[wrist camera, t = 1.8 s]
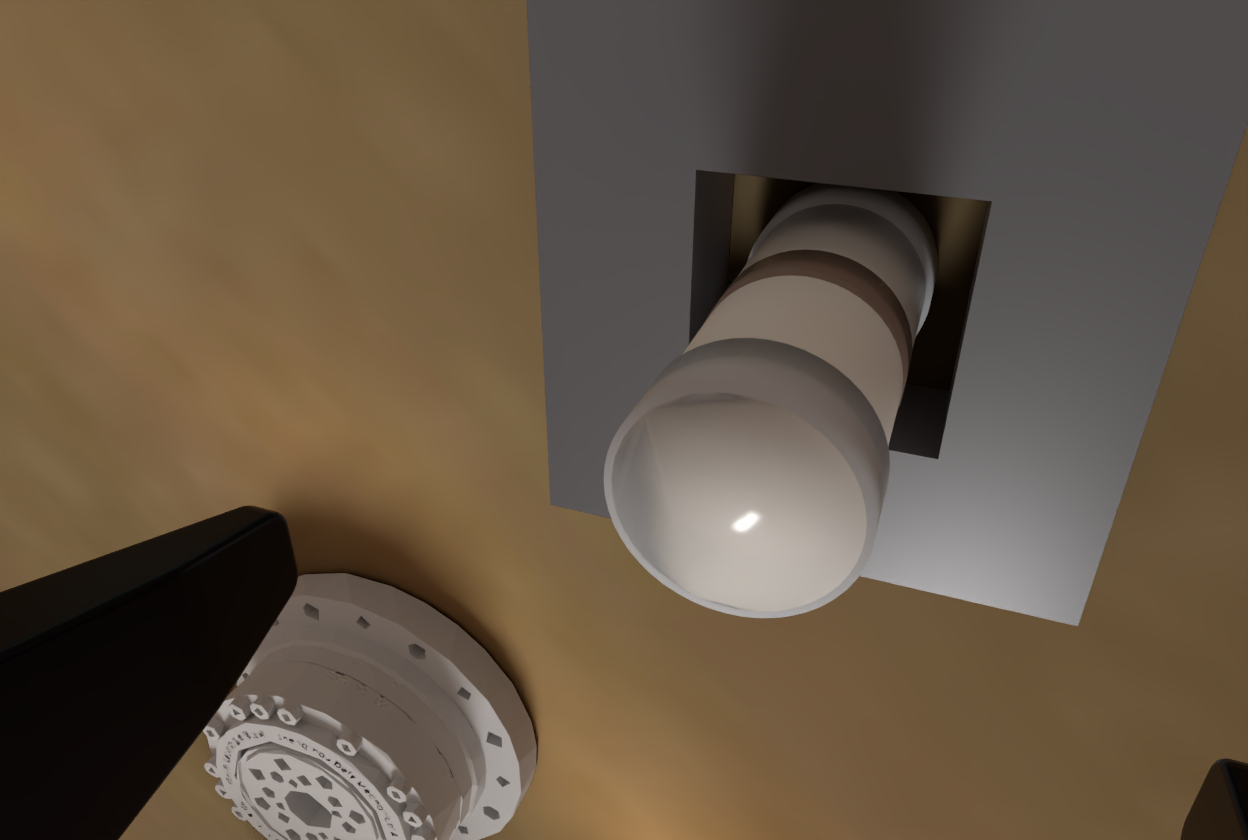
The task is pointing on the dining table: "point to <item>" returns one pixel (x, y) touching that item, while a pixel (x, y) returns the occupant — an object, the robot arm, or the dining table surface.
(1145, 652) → the dining table surface
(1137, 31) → the socket block
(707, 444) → the cylinder
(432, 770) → the mechanical component
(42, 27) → the dining table surface
